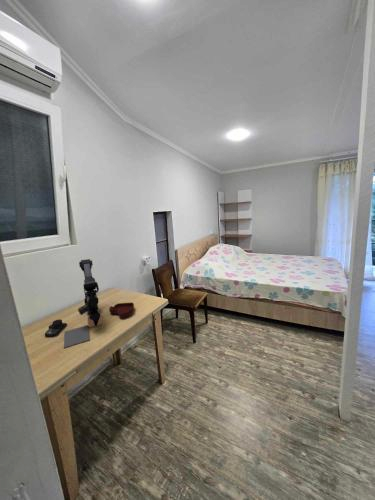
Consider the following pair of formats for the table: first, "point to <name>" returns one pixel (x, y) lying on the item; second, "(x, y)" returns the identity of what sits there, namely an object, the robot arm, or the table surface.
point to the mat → (76, 336)
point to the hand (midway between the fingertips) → (95, 322)
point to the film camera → (55, 328)
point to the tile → (91, 323)
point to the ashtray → (122, 309)
